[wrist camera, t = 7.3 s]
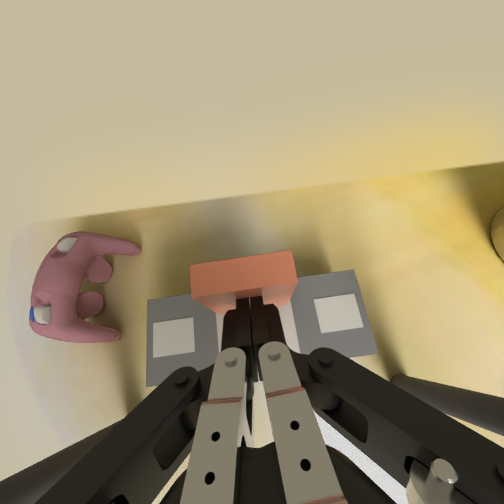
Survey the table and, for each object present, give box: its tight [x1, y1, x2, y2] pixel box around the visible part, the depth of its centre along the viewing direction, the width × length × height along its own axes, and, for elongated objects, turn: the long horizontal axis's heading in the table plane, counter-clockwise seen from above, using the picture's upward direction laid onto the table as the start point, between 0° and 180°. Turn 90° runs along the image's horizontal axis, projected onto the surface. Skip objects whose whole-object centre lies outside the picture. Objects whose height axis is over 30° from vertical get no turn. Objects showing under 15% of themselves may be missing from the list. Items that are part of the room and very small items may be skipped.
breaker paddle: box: [189, 250, 298, 315], centre depth 15 cm, size 5×2×7 cm, turn 98°
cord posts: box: [0, 375, 504, 504], centre depth 12 cm, size 24×2×18 cm, turn 98°
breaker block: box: [146, 269, 378, 387], centre depth 20 cm, size 16×6×5 cm, turn 98°
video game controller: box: [29, 232, 141, 343], centre depth 23 cm, size 10×5×7 cm, turn 176°
